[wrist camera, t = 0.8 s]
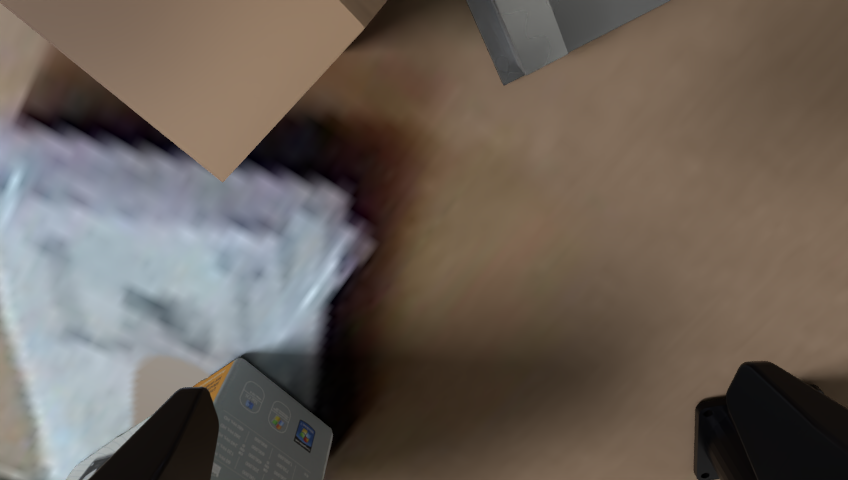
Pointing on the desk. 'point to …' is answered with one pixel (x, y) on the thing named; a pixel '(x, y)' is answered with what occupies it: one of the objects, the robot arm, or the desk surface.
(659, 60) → the desk surface
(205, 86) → the tan block
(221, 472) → the hard drive box
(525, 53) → the open-ended gray metal tray
